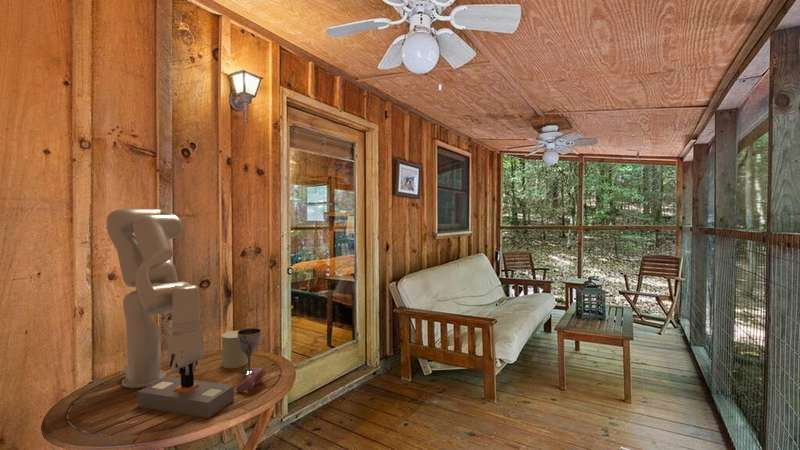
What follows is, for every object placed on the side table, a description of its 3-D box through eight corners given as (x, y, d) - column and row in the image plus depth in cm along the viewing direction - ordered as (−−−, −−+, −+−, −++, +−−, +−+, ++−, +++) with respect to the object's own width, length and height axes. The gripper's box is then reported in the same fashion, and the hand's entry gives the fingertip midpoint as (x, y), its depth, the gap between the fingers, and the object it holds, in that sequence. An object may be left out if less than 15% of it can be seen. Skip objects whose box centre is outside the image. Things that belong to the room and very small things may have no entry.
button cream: (150, 396, 118) (150, 387, 118) (162, 390, 122) (162, 381, 122) (162, 398, 117) (162, 389, 117) (174, 392, 121) (174, 382, 121)
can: (242, 368, 143) (242, 336, 143) (217, 368, 143) (217, 336, 143) (251, 359, 153) (251, 329, 152) (227, 359, 152) (227, 329, 152)
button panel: (137, 406, 115) (137, 391, 115) (168, 389, 126) (168, 376, 126) (208, 418, 109) (208, 402, 109) (234, 399, 120) (234, 385, 119)
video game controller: (245, 398, 124) (254, 380, 123) (233, 391, 124) (242, 373, 124) (261, 385, 133) (270, 368, 133) (251, 378, 134) (259, 361, 133)
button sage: (200, 404, 113) (200, 394, 113) (210, 397, 118) (210, 388, 118) (212, 406, 112) (212, 396, 112) (223, 399, 117) (223, 390, 117)
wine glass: (237, 377, 135) (237, 335, 135) (237, 369, 143) (237, 329, 142) (261, 374, 139) (261, 333, 138) (260, 366, 146) (260, 327, 145)
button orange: (174, 397, 116) (174, 388, 116) (186, 391, 120) (186, 381, 120) (187, 399, 115) (187, 389, 114) (198, 393, 119) (198, 383, 119)
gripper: (194, 319, 125) (195, 375, 125) (155, 332, 110) (156, 396, 111) (214, 320, 123) (215, 377, 123) (176, 334, 108) (177, 399, 109)
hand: (187, 386), depth 117 cm, fingers closed
